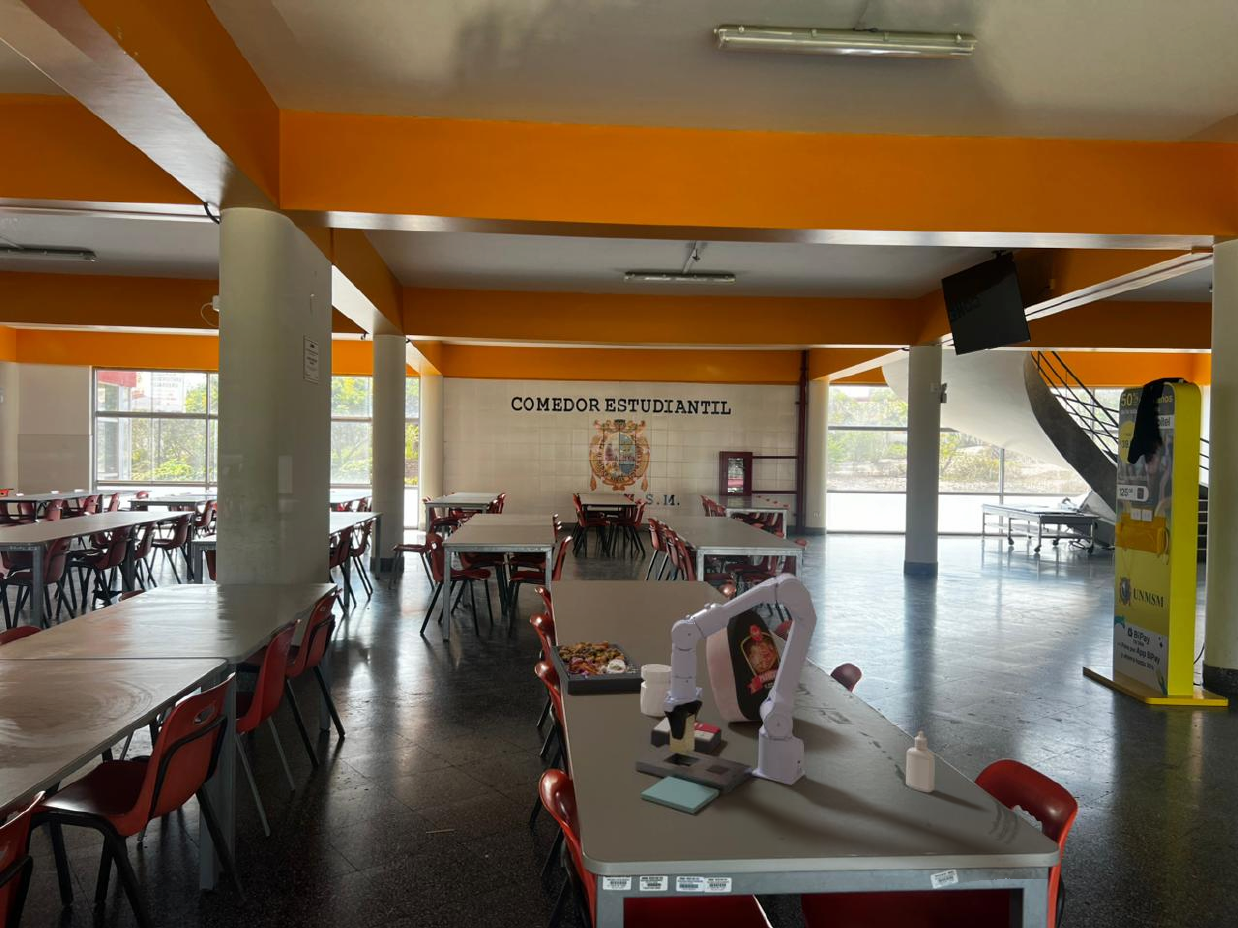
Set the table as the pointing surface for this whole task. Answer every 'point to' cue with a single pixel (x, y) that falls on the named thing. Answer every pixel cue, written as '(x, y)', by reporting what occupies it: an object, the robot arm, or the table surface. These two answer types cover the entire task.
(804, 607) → the robot arm
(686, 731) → the wooden block
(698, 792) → the pad
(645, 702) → the white jar
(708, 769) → the grey square-hole board
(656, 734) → the calculator
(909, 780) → the eye dropper bottle
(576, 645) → the food platter
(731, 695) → the packaged food
